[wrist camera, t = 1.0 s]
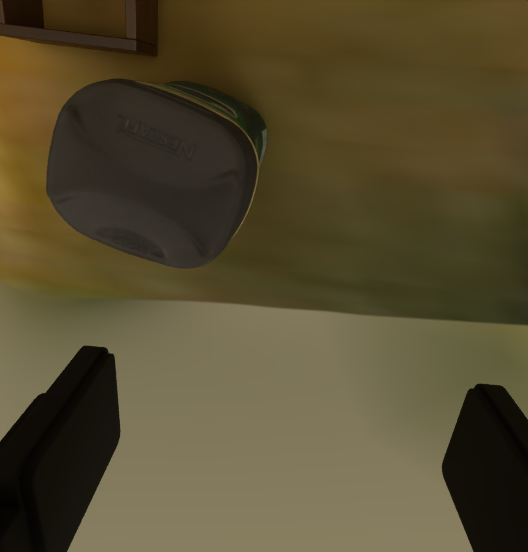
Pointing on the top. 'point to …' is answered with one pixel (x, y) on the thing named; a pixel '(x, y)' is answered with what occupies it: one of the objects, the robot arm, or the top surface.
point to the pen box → (29, 26)
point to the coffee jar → (156, 168)
